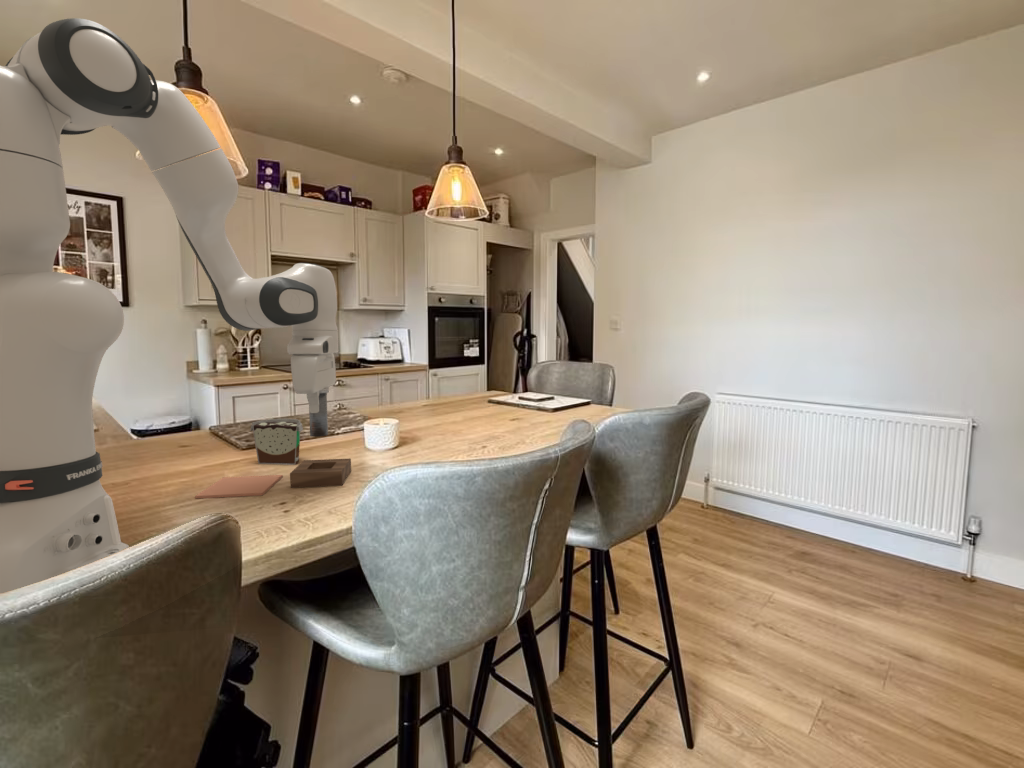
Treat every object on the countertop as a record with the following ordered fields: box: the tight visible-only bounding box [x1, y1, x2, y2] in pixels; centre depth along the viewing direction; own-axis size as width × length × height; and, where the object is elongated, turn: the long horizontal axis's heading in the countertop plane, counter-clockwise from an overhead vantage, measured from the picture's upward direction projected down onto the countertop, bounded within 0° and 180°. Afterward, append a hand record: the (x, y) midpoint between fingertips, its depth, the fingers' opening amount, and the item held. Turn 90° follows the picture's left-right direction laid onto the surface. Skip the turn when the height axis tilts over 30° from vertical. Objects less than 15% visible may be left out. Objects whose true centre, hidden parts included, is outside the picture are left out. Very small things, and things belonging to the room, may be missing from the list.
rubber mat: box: [194, 474, 284, 500], centre depth 99 cm, size 12×12×1 cm
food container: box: [250, 418, 304, 466], centre depth 118 cm, size 12×6×10 cm, turn 84°
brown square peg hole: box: [289, 458, 352, 489], centre depth 104 cm, size 10×10×3 cm
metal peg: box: [308, 387, 330, 438], centre depth 102 cm, size 4×4×10 cm
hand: (318, 410), depth 102 cm, fingers closed on metal peg, 3 cm apart
